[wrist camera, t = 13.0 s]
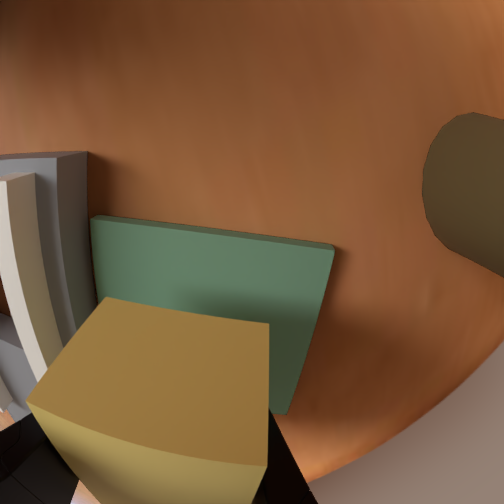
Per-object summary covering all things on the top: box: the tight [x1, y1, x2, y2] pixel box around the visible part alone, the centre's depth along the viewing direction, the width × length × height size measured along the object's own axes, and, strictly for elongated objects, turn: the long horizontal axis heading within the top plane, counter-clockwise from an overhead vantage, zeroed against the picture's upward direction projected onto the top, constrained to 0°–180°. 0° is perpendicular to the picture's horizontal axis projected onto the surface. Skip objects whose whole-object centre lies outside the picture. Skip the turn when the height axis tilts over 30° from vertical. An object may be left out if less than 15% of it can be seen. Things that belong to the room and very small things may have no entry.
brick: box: [25, 297, 269, 504], centre depth 8 cm, size 7×5×4 cm
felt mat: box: [90, 215, 335, 415], centre depth 12 cm, size 9×9×1 cm
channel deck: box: [0, 151, 97, 422], centre depth 13 cm, size 24×11×4 cm, turn 173°
